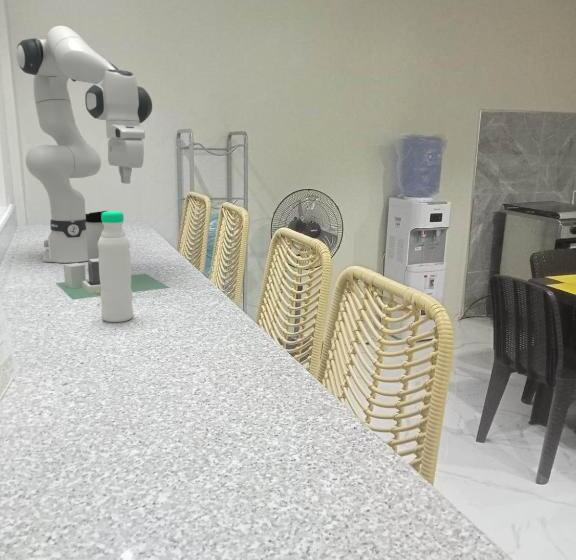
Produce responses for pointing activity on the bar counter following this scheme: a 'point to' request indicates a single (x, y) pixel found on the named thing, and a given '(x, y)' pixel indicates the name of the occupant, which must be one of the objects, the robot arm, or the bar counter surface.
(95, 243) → the travel mug
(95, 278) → the plug
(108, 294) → the water bottle
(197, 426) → the bar counter surface
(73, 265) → the plug
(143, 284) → the board
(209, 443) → the bar counter surface
